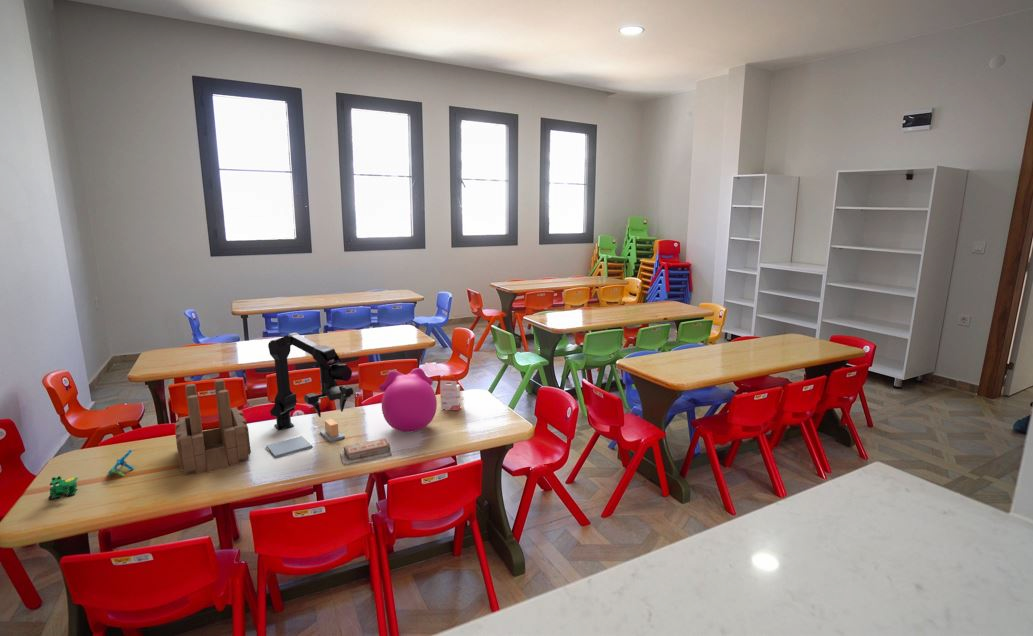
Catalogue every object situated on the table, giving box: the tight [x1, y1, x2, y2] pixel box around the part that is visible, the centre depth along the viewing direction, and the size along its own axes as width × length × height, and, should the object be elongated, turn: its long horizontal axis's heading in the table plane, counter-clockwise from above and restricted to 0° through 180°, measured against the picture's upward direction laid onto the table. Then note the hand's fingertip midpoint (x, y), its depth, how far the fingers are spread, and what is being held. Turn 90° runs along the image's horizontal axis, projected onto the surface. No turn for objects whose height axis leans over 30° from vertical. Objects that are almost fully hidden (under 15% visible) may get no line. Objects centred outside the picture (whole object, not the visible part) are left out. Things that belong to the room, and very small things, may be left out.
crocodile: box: [48, 475, 78, 501], centre depth 173 cm, size 20×6×9 cm, turn 28°
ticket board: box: [265, 435, 313, 459], centre depth 206 cm, size 12×14×1 cm
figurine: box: [378, 367, 438, 433], centre depth 221 cm, size 23×24×25 cm
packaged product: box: [339, 438, 393, 466], centre depth 200 cm, size 18×5×10 cm
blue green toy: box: [107, 449, 135, 477], centre depth 188 cm, size 11×6×10 cm
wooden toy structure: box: [174, 378, 252, 476], centre depth 198 cm, size 23×30×27 cm
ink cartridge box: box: [439, 380, 462, 411], centre depth 245 cm, size 9×5×15 cm, turn 80°
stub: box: [319, 418, 346, 443], centre depth 217 cm, size 12×6×6 cm, turn 40°
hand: (330, 414), depth 215 cm, fingers open, 9 cm apart
